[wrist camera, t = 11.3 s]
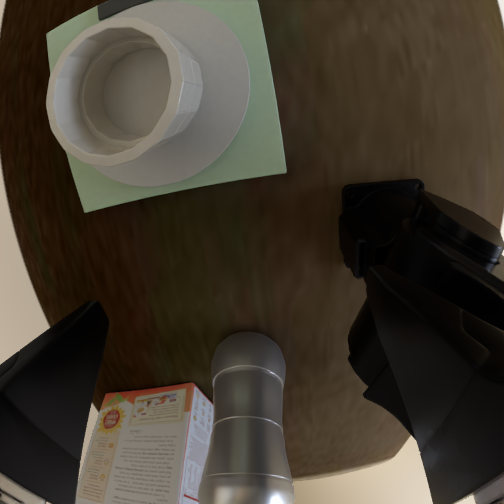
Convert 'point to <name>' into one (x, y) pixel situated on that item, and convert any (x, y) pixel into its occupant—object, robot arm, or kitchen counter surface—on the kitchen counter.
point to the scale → (210, 108)
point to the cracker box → (148, 447)
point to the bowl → (122, 91)
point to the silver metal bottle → (247, 425)
